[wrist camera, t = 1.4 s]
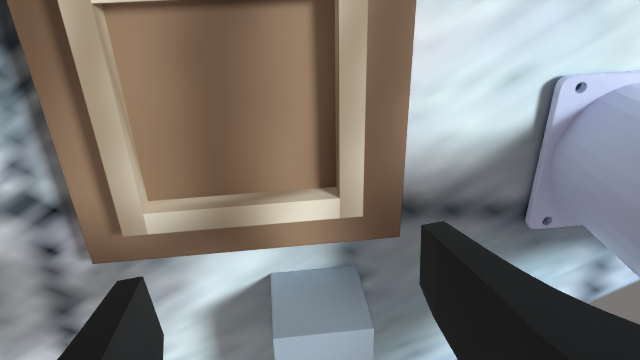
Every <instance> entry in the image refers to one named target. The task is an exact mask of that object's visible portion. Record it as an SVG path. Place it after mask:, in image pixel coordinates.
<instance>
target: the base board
mask: <svg viewBox="0 0 640 360" xmlns="http://www.w3.org/2000/svg"><path fill="white" fill-rule="evenodd" d="M7 3H8V6H9V9H10V13H11V16H12V19H13V22H14V25H15V28H16V31H17V34H18V37H19V40H20V43H21V46H22V49H23V52H24V55H25V58H26V61H27V64H28V68H29V71H30V74H31V77H32V80H33V83H34V86H35V89H36V92H37V95H38V98H39V101H40V104H41V107H42V110H43V113H44V116H45V120H46V123H47V126H48V129H49V132H50V135H51V138H52V141H53V144H54V147H55V150H56V153H57V156H58V159H59V162H60V165H61V168H62V171H63V175H64V178H65V181H66V184H67V187H68V190H69V193H70V196H71V199H72V202H73V205H74V208H75V211H76V214H77V217H78V220H79V223H80V227H81V230H82V233H83V236H84V239H85V242H86V245H87V248H88V251H89V254H90V257H91V260H92V263H93V264H99V263H110V262H122V261H133V260H144V259H155V258H167V257H178V256H189V255H201V254H212V253H223V252H234V251H246V250H257V249H268V248H280V247H291V246H302V245H313V244H325V243H336V242H347V241H359V240H370V239H381V238H392V237H399V236H400V222H401V208H402V194H403V180H404V166H405V152H406V138H407V124H408V110H409V96H410V81H411V67H412V53H413V39H414V25H415V11H416V0H7Z"/></svg>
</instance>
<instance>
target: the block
mask: <svg viewBox="0 0 640 360" xmlns="http://www.w3.org/2000/svg"><path fill="white" fill-rule="evenodd" d="M271 297H272V329H273V346H274V356H275V360H373V347H374V325H373V322H372V318H371V315H370V311H369V308H368V304H367V301H366V297H365V294H364V291H363V287H362V284H361V280H360V277H359V273H358V270H357V266H356V265H355V266H344V267H334V268H323V269H312V270H301V271H290V272H279V273H271Z"/></svg>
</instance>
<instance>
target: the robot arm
mask: <svg viewBox="0 0 640 360" xmlns="http://www.w3.org/2000/svg"><path fill="white" fill-rule="evenodd" d="M580 82H581V87H580V88H579V89H578V90H576V91H575V88H576V86H577V85H578V84H579V83H580ZM546 217H548V218H547V219H546V220H544V219H545V218H546ZM543 220H544V221H543ZM525 222H526V224H527V225H528V226H529V227H530V228H531V229H546V228H557V227H569V226H580V225H583V226H584V227H585V228H586V229H587V230H589V231H590V232H591V233H592V234H593V235H594V236H595V237H596V238H597V239H598V240H599V241H600V242H602V243H603V244H604V245H605V246H606V247H607V248H608V249H609V250H610V251H611V252H612V253H614V254H615V255H616V256H617V257H618V258H619V259H620V260H621V261H622V262H623V263H624V264H625V265H627V266H628V267H629V268H630V269H631V270H632V271H633V272H634V273H635V274H636V275H637V276H639V277H640V71H627V72H610V73H593V74H576V75H566V76H563V77H562V78H560V79H559V80H558V82H557V83H556V86H555V89H554V94H553V98H552V103H551V107H550V112H549V116H548V120H547V125H546V129H545V134H544V138H543V143H542V147H541V152H540V156H539V160H538V165H537V169H536V174H535V178H534V183H533V187H532V192H531V196H530V201H529V205H528V209H527V214H526V218H525ZM420 286H421V288H422V291H423V293H424V296H425V298H426V301H427V303H428V305H429V308H430V310H431V312H432V315H433V317H434V319H435V321H436V322H437V324H438V326H439V328H440V329H441V331H442V333H443V335H444V336H445V338H446V340H447V342H448V343H449V345H450V347H451V349H452V350H453V352H454V354H455V355H456V357H457V359H458V360H640V325H639V324H636V323H634V322H631V321H628V320H626V319H624V318H621V317H618V316H616V315H613V314H611V313H608V312H606V311H603V310H601V309H598V308H596V307H594V306H591V305H589V304H587V303H585V302H583V301H580V300H578V299H576V298H574V297H572V296H570V295H568V294H565V293H563V292H561V291H559V290H557V289H555V288H553V287H551V286H549V285H547V284H545V283H544V282H542V281H540V280H538V279H536V278H534V277H533V276H531V275H529V274H527V273H525V272H524V271H522V270H520V269H518V268H517V267H515V266H513V265H512V264H510V263H508V262H507V261H505V260H503V259H502V258H500V257H498V256H497V255H495V254H494V253H492V252H490V251H489V250H487V249H486V248H484V247H483V246H481V245H480V244H478V243H476V242H475V241H473V240H472V239H470V238H469V237H467V236H466V235H464V234H463V233H461V232H460V231H458V230H457V229H455V228H454V227H452V226H450V225H449V224H447V223H445V222H444V221H442V222H436V223H431V224H425V225H421V256H420ZM163 342H164V334H163V331H162V329H161V326H160V323H159V320H158V317H157V315H156V312H155V309H154V306H153V303H152V301H151V298H150V295H149V292H148V289H147V287H146V284H145V281H144V278H143V276H142V277H136V278H131V279H125V280H120V281H117V282H116V284H115V285H114V286H113V287H112V289H111V290H110V291H109V293H108V294H107V295H106V297H105V298H104V299H103V301H102V302H101V303H100V305H99V306H98V307H97V309H96V310H95V311H94V313H93V314H92V316H91V317H90V318H89V320H88V321H87V322H86V324H85V325H84V326H83V328H82V329H81V330H80V331H79V333H78V334H77V335H76V337H75V338H74V339H73V340H72V342H71V343H70V344H69V346H68V347H67V348H66V349H65V351H64V352H63V353H62V354H61V356H60V357H59V358H58V359H57V360H163Z"/></svg>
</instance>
